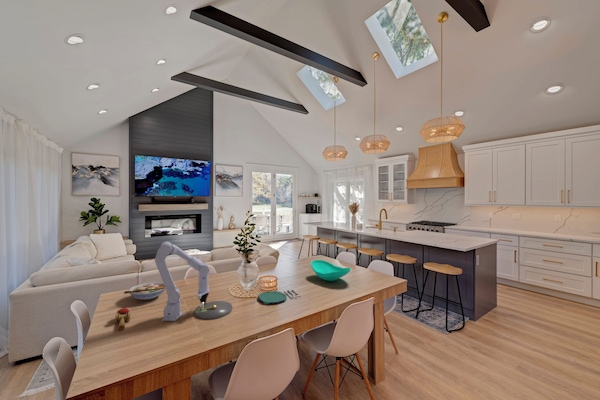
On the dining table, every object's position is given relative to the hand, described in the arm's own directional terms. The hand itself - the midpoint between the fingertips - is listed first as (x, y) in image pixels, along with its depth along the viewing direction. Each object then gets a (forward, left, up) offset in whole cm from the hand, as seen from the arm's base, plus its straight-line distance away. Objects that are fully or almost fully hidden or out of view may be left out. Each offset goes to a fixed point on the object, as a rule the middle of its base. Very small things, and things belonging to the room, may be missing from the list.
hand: (203, 305), depth 152 cm
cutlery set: (+22, -45, -4) cm, 51 cm away
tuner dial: (+1, -6, -4) cm, 7 cm away
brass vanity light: (-1, -3, -2) cm, 3 cm away
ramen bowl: (+19, +45, -4) cm, 49 cm away
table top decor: (+63, -87, -4) cm, 108 cm away
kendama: (-15, +39, -4) cm, 42 cm away
